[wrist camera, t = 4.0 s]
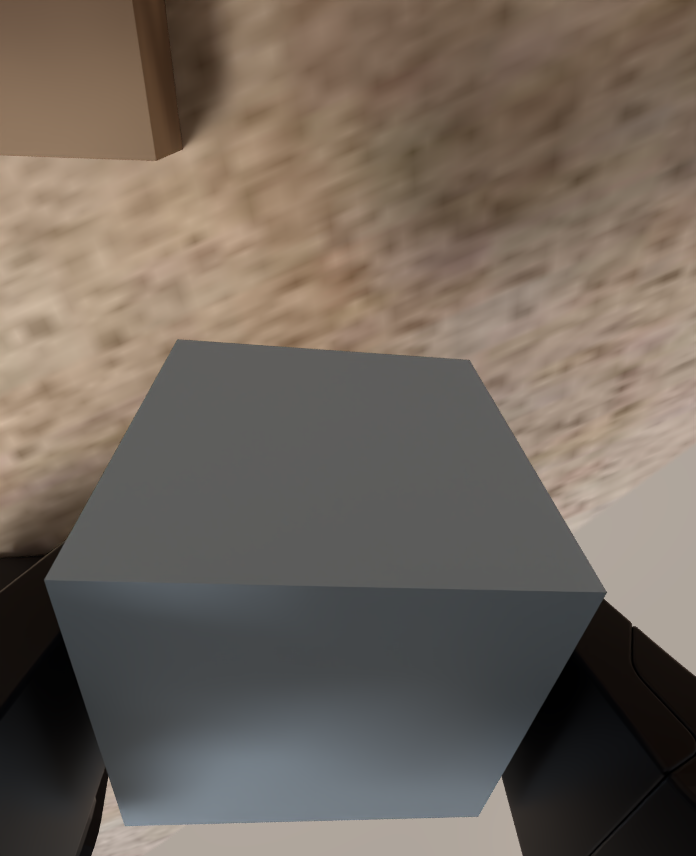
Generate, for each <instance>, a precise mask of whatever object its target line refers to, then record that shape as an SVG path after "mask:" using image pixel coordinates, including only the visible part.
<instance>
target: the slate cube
mask: <svg viewBox="0 0 696 856" xmlns="http://www.w3.org/2000/svg"><path fill="white" fill-rule="evenodd" d="M44 581H45V585H46V588H47V591H48V594H49V597H50V600H51V603H52V606H53V609H54V612H55V615H56V618H57V621H58V624H59V627H60V630H61V633H62V636H63V639H64V642H65V645H66V648H67V651H68V654H69V657H70V661H71V664H72V667H73V670H74V673H75V676H76V679H77V682H78V685H79V688H80V691H81V694H82V697H83V700H84V703H85V706H86V709H87V712H88V715H89V718H90V721H91V724H92V727H93V730H94V733H95V737H96V740H97V743H98V746H99V749H100V752H101V755H102V758H103V761H104V764H105V767H106V770H107V773H108V776H109V779H110V782H111V785H112V788H113V791H114V794H115V797H116V800H117V803H118V806H119V809H120V813H121V816H122V819H123V822H124V825H125V826H145V825H183V824H220V823H255V822H294V821H332V820H369V819H407V818H445V817H478V816H479V814H480V812H481V811H482V809H483V807H484V805H485V804H486V802H487V800H488V798H489V797H490V795H491V793H492V792H493V790H494V788H495V786H496V784H497V783H498V781H499V779H500V778H501V776H502V774H503V772H504V771H505V769H506V767H507V765H508V764H509V762H510V760H511V759H512V757H513V755H514V753H515V752H516V750H517V748H518V746H519V745H520V743H521V741H522V739H523V738H524V736H525V734H526V732H527V731H528V729H529V727H530V725H531V724H532V722H533V720H534V719H535V717H536V715H537V713H538V712H539V710H540V708H541V706H542V705H543V703H544V701H545V699H546V698H547V696H548V694H549V692H550V691H551V689H552V687H553V685H554V684H555V682H556V680H557V678H558V677H559V675H560V673H561V672H562V670H563V668H564V666H565V665H566V663H567V661H568V659H569V658H570V656H571V654H572V652H573V651H574V649H575V647H576V645H577V644H578V642H579V640H580V638H581V637H582V635H583V633H584V632H585V630H586V628H587V626H588V625H589V623H590V621H591V619H592V618H593V616H594V614H595V612H596V611H597V609H598V607H599V605H600V604H601V602H602V600H603V598H604V597H605V595H606V593H607V592H606V590H605V588H604V587H603V585H602V583H601V582H600V580H599V578H598V577H597V575H596V573H595V572H594V570H593V568H592V566H591V565H590V563H589V561H588V560H587V558H586V556H585V555H584V553H583V551H582V550H581V548H580V546H579V545H578V543H577V541H576V540H575V538H574V536H573V534H572V533H571V531H570V529H569V528H568V526H567V524H566V522H565V521H564V519H563V517H562V516H561V514H560V512H559V511H558V509H557V507H556V506H555V504H554V502H553V500H552V499H551V497H550V495H549V494H548V492H547V490H546V489H545V487H544V485H543V484H542V482H541V480H540V479H539V477H538V475H537V473H536V472H535V470H534V468H533V467H532V465H531V463H530V462H529V460H528V458H527V457H526V455H525V453H524V451H523V450H522V448H521V446H520V445H519V443H518V441H517V440H516V438H515V436H514V435H513V433H512V431H511V429H510V428H509V426H508V424H507V423H506V421H505V419H504V418H503V416H502V414H501V413H500V411H499V409H498V408H497V406H496V404H495V402H494V401H493V399H492V397H491V396H490V394H489V392H488V391H487V389H486V387H485V386H484V384H483V382H482V380H481V379H480V377H479V375H478V374H477V372H476V370H475V369H474V367H473V365H472V364H471V362H470V360H461V359H447V358H433V357H419V356H405V355H390V354H376V353H362V352H348V351H334V350H320V349H306V348H292V347H278V346H263V345H249V344H235V343H221V342H207V341H193V340H179V339H177V341H176V343H175V345H174V347H173V348H172V350H171V352H170V354H169V356H168V357H167V359H166V361H165V363H164V365H163V366H162V368H161V370H160V372H159V374H158V376H157V377H156V379H155V381H154V383H153V385H152V386H151V388H150V390H149V392H148V394H147V395H146V397H145V399H144V401H143V403H142V404H141V406H140V408H139V410H138V412H137V413H136V415H135V417H134V419H133V421H132V422H131V424H130V426H129V428H128V430H127V431H126V433H125V435H124V437H123V439H122V440H121V442H120V444H119V446H118V448H117V449H116V451H115V453H114V455H113V457H112V459H111V460H110V462H109V464H108V466H107V468H106V469H105V471H104V473H103V475H102V477H101V478H100V480H99V482H98V484H97V486H96V487H95V489H94V491H93V493H92V495H91V496H90V498H89V500H88V502H87V504H86V505H85V507H84V509H83V511H82V513H81V514H80V516H79V518H78V520H77V522H76V523H75V525H74V527H73V529H72V531H71V532H70V534H69V536H68V538H67V540H66V542H65V543H64V545H63V547H62V549H61V551H60V552H59V554H58V556H57V558H56V560H55V561H54V563H53V565H52V567H51V569H50V570H49V572H48V574H47V576H46V578H45V579H44Z"/></svg>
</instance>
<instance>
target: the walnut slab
mask: <svg viewBox="0 0 696 856" xmlns="http://www.w3.org/2000/svg"><path fill="white" fill-rule="evenodd" d="M182 149H183V147H182V139H181V131H180V123H179V115H178V107H177V98H176V90H175V82H174V74H173V66H172V58H171V49H170V41H169V33H168V25H167V17H166V9H165V0H0V155H8V156H35V157H63V158H90V159H118V160H146V161H157V160H159V159H162V158H164V157H166V156H168V155H171V154H173V153H175V152H177V151H180V150H182Z"/></svg>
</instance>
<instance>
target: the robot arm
mask: <svg viewBox="0 0 696 856" xmlns="http://www.w3.org/2000/svg"><path fill="white" fill-rule="evenodd" d="M66 540H67V539H66ZM66 540H65V541H64V542H63V543H61V544H60V545H59V546H58V547H56V548H55V549H54V550H52V551H51V552H50V553H49V554H47V555H41V556H27V557H12V558H0V856H91V855H92V852H93V849H94V846H95V843H96V839H97V836H98V833H99V828H100V823H101V818H102V812H103V806H104V800H105V793H106V787H107V781H108V773H107V770H106V767H105V764H104V761H103V758H102V755H101V752H100V749H99V746H98V743H97V740H96V737H95V733H94V730H93V727H92V724H91V721H90V718H89V715H88V712H87V709H86V706H85V703H84V700H83V697H82V694H81V691H80V688H79V685H78V682H77V679H76V676H75V673H74V670H73V667H72V664H71V661H70V657H69V654H68V651H67V648H66V645H65V642H64V639H63V636H62V633H61V630H60V627H59V624H58V621H57V618H56V615H55V612H54V609H53V606H52V603H51V600H50V597H49V594H48V591H47V588H46V585H45V581H44V579H45V578H46V576H47V574H48V572H49V570H50V569H51V567H52V565H53V563H54V561H55V560H56V558H57V556H58V554H59V552H60V551H61V549H62V547H63V545H64V543H65V542H66ZM502 780H503V783H504V787H505V791H506V795H507V798H508V802H509V806H510V810H511V813H512V817H513V821H514V825H515V828H516V832H517V836H518V839H519V843H520V847H521V851H522V855H523V856H696V676H694V675H693V674H692V673H691V672H689V671H688V670H687V669H686V668H685V667H683V666H682V665H681V664H680V663H678V662H677V661H676V660H675V659H674V658H672V657H671V656H670V655H669V654H668V653H666V652H665V651H664V650H663V649H662V648H661V647H659V646H658V645H657V644H656V643H655V642H653V641H652V640H651V639H650V638H649V637H648V636H647V635H645V634H644V633H643V632H642V631H641V630H640V629H638V628H637V627H636V626H633V627H632V623H631V622H630V621H629V620H628V619H627V618H625V617H624V616H623V615H622V614H621V613H620V612H618V611H617V610H616V609H615V608H614V607H613V606H612V605H610V604H609V603H608V602H607V601H606V600H605V599H603V600H602V602H601V604H600V605H599V607H598V609H597V611H596V612H595V614H594V616H593V618H592V619H591V621H590V623H589V625H588V626H587V628H586V630H585V632H584V633H583V635H582V637H581V638H580V640H579V642H578V644H577V645H576V647H575V649H574V651H573V652H572V654H571V656H570V658H569V659H568V661H567V663H566V665H565V666H564V668H563V670H562V672H561V673H560V675H559V677H558V678H557V680H556V682H555V684H554V685H553V687H552V689H551V691H550V692H549V694H548V696H547V698H546V699H545V701H544V703H543V705H542V706H541V708H540V710H539V712H538V713H537V715H536V717H535V719H534V720H533V722H532V724H531V725H530V727H529V729H528V731H527V732H526V734H525V736H524V738H523V739H522V741H521V743H520V745H519V746H518V748H517V750H516V752H515V753H514V755H513V757H512V759H511V760H510V762H509V764H508V765H507V767H506V769H505V771H504V772H503V774H502Z"/></svg>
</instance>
